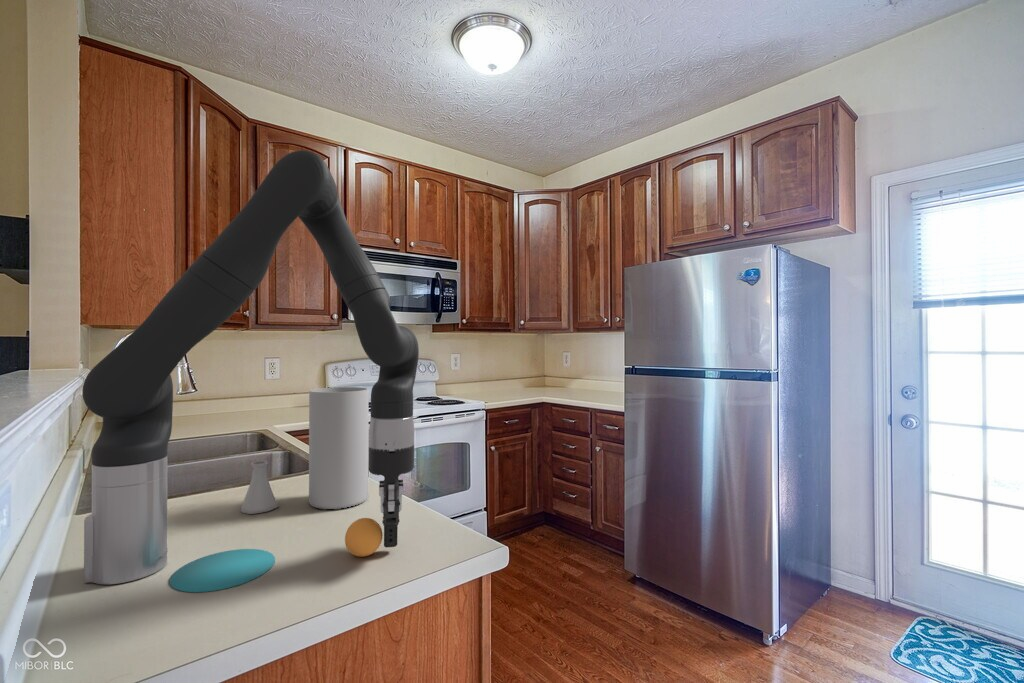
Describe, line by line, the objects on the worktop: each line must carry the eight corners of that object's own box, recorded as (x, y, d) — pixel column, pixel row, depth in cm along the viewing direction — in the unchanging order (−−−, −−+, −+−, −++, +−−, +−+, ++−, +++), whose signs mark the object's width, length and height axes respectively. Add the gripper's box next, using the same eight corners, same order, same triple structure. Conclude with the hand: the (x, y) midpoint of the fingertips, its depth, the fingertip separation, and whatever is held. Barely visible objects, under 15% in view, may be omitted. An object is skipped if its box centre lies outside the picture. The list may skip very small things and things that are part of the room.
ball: (389, 548, 78) (356, 570, 77) (388, 534, 84) (357, 554, 83) (370, 518, 78) (336, 540, 76) (371, 505, 83) (339, 526, 82)
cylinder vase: (306, 513, 100) (306, 393, 100) (311, 495, 111) (311, 388, 112) (369, 507, 104) (369, 391, 104) (367, 490, 115) (367, 386, 116)
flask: (269, 501, 108) (269, 456, 108) (284, 508, 103) (284, 461, 103) (234, 509, 102) (234, 462, 102) (248, 517, 98) (249, 468, 98)
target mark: (151, 598, 67) (151, 596, 67) (191, 555, 80) (191, 553, 80) (262, 585, 70) (262, 584, 70) (283, 546, 84) (283, 545, 84)
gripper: (370, 436, 87) (369, 532, 87) (366, 452, 74) (365, 565, 74) (412, 435, 89) (411, 529, 89) (416, 450, 76) (415, 560, 76)
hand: (390, 545), depth 81 cm, fingers closed
